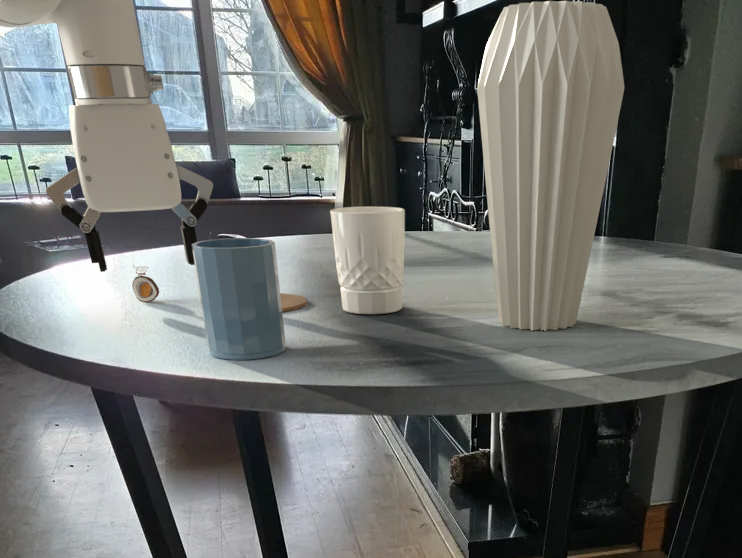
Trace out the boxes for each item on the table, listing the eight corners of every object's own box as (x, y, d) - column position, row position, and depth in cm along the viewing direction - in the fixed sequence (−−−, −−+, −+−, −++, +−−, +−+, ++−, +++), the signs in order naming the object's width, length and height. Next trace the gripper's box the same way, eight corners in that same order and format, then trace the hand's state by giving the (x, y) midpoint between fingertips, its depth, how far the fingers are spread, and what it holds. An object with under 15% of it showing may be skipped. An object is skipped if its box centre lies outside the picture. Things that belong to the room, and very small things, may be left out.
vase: (541, 343, 73) (562, -9, 59) (446, 321, 81) (446, 8, 68) (627, 323, 81) (663, 6, 67) (532, 304, 89) (547, 20, 75)
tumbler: (214, 363, 67) (196, 250, 63) (205, 345, 73) (188, 240, 68) (292, 355, 69) (280, 245, 65) (277, 339, 75) (266, 236, 70)
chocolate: (166, 299, 92) (159, 263, 90) (157, 303, 90) (150, 266, 88) (142, 299, 92) (135, 262, 90) (133, 302, 90) (126, 265, 88)
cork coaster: (224, 316, 84) (224, 312, 84) (213, 300, 92) (212, 296, 91) (315, 309, 87) (315, 305, 87) (297, 294, 95) (297, 290, 95)
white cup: (397, 300, 91) (394, 205, 86) (415, 313, 85) (413, 211, 80) (331, 304, 89) (324, 207, 84) (344, 318, 83) (337, 214, 78)
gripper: (193, 89, 86) (220, 256, 95) (22, 90, 81) (68, 267, 90) (201, 86, 80) (228, 265, 89) (16, 88, 75) (66, 278, 84)
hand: (148, 266), depth 89 cm, fingers open, 9 cm apart
